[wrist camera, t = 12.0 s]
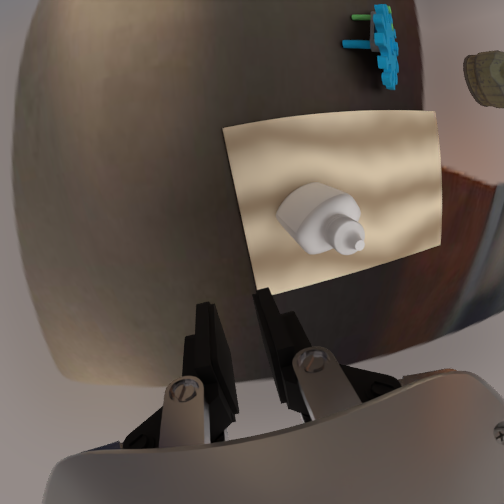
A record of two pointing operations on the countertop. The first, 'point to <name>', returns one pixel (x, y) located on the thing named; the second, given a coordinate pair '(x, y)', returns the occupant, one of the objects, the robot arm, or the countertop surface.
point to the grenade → (486, 77)
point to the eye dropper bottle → (322, 219)
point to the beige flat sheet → (338, 187)
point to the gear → (380, 42)
